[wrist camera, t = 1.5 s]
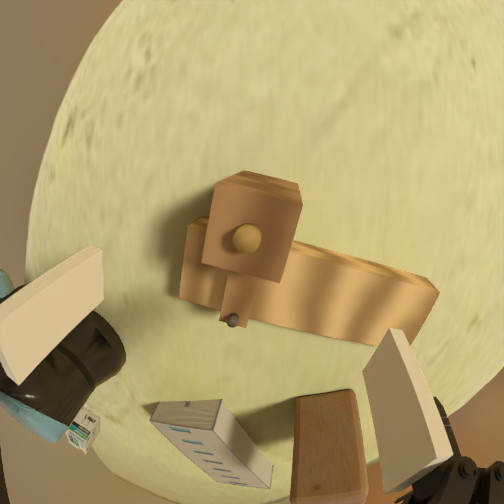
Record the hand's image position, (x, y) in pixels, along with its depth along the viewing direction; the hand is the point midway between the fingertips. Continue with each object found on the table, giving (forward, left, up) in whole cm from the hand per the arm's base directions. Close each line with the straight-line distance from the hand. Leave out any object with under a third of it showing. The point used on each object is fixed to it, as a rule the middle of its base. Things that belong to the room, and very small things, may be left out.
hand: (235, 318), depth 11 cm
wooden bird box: (-1, -4, -21) cm, 21 cm away
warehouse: (+2, -50, -21) cm, 55 cm away
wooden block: (+18, -30, -21) cm, 41 cm away
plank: (+7, -7, -21) cm, 23 cm away
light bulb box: (-35, -68, -21) cm, 80 cm away
